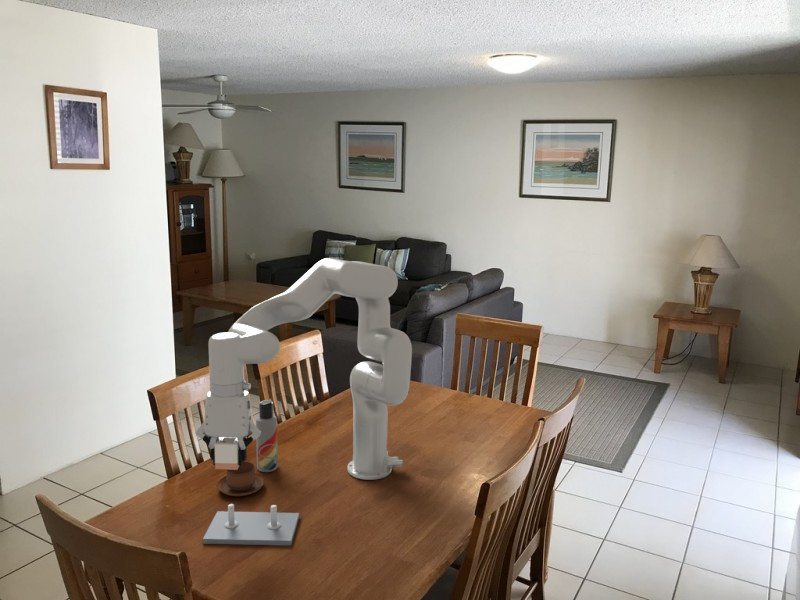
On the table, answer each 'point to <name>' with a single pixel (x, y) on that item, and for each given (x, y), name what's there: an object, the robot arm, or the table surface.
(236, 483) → the cup and saucer
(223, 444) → the sleeve
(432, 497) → the table surface
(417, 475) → the table surface
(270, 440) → the lotion bottle
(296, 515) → the pin board
